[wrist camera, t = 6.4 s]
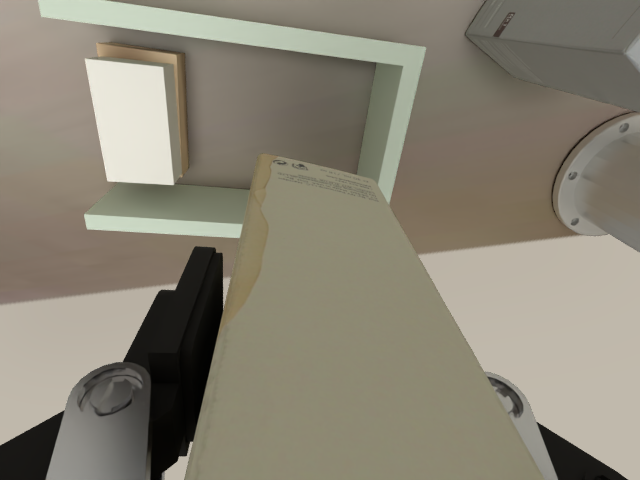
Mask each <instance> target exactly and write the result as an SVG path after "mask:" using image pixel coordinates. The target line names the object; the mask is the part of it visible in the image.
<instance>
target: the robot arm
mask: <svg viewBox="0 0 640 480" xmlns="http://www.w3.org/2000/svg"><path fill="white" fill-rule="evenodd" d="M553 207H554V210H555V213H556V216H557V217H558V218H559V220H560V221H561V222H562V223H563V224H564V225H565V226H567V227H568V228H569V229H571V230H573V231H575V232H576V233H579V234H582V235H587V236H600V235H607V234H610V235H612V236H613V237H615V238H617V239H618V240H620V241H622V242H623V243H625V244H627V245H628V246H630V247H632V248H633V249H635V250H637V251H639V252H640V112H634V113H630V114H626V115H622V116H619V117H617V118H615V119H613V120H610V121H608V122H606V123H605V124H603V125H601V126H600V127H598V128H597V129H595V130H594V131H592V132H591V133H590V134H589V135H588V136H587V137H585V138H584V139H583V140H582V141H581V142H580V143H579V144H578V145H577V146H576V147H575V149H574V150H573V151H572V152H571V153H570V155H569V156H568V158H567V159H566V160H565V162H564V163H563V165H562V167H561V169H560V171H559V173H558V175H557V179H556V182H555V185H554V190H553ZM222 314H223V255H222V253H216V249H215V248H212V247H197V246H196V247H194V249H193V251H192V254H191V256H190V258H189V260H188V263H187V265H186V267H185V269H184V272H183V274H182V276H181V278H180V280H179V283H178V285H177V287H176V290H161V291H159V292H158V294H157V296H156V298H155V300H154V302H153V304H152V305H151V307H150V310H149V311H148V313H147V316H146V317H145V319H144V321H143V323H142V325H141V327H140V329H139V331H138V333H137V335H136V337H135V339H134V341H133V343H132V345H131V347H130V349H129V351H128V353H127V355H126V357H125V358H124V361H123V362H116V363H112V364H108V365H104V366H102V367H100V368H97V369H95V370H93V371H91V372H90V373H89V374H87V375H86V376H85V377H83V378H82V379H81V380H80V381H79V382H78V383H77V384H76V386H75V387H74V388H73V389H72V391H71V393H70V395H69V397H68V401H67V404H66V408H65V410H64V411H62V412H60V413H59V414H57V415H55V416H53V417H51V418H50V419H48V420H46V421H44V422H42V423H40V424H39V425H37V426H35V427H33V428H31V429H30V430H28V431H26V432H24V433H22V434H20V435H19V436H17V437H15V438H13V439H11V440H10V441H8V442H6V443H4V444H2V445H0V480H164V475H165V470H167V469H168V468H169V467H171V466H172V465H173V464H174V463H176V462H177V461H178V457H179V456H187V453H188V448H189V444H190V442H193V440H194V436H195V432H196V427H197V423H198V419H199V415H200V410H201V406H202V402H203V397H204V393H205V389H206V385H207V380H208V376H209V372H210V367H211V363H212V359H213V354H214V350H215V345H216V341H217V336H218V332H219V328H220V323H221V319H222ZM485 374H486V376H487V378H488V379H489V381H490V383H491V385H492V386H493V388H494V390H495V392H496V394H497V396H498V398H499V399H500V401H501V403H502V404H503V406H504V408H505V409H506V411H507V413H508V414H509V416H510V418H511V420H512V421H513V423H514V425H515V427H516V429H517V431H518V432H519V434H520V436H521V438H522V440H523V441H524V443H525V445H526V447H527V448H528V450H529V452H530V454H531V456H532V457H533V459H534V461H535V463H536V464H537V466H538V468H539V470H540V472H541V473H542V475H543V477H544V479H545V480H628V479H626V478H625V477H623V476H622V475H621V474H619V473H618V472H616V471H615V470H613V469H612V468H610V467H608V466H607V465H605V464H604V463H602V462H600V461H599V460H597V459H595V458H594V457H592V456H591V455H589V454H587V453H586V452H584V451H583V450H581V449H579V448H578V447H576V446H574V445H573V444H571V443H569V442H568V441H567V440H565V439H563V438H562V437H560V436H558V435H557V434H555V433H553V432H552V431H550V430H549V429H547V428H546V427H544V426H542V425H541V424H539V423H538V422H536V420H535V417H534V415H533V412H532V409H531V407H530V404H529V402H528V401H527V399H526V397H525V395H524V394H523V393H522V392H521V391H520V390H519V389H518V388H517V387H516V386H515V385H514V384H512V383H511V382H510V381H508V380H507V379H505V378H503V377H501V376H499V375H496V374H493V373H491V372H485Z"/></svg>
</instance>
